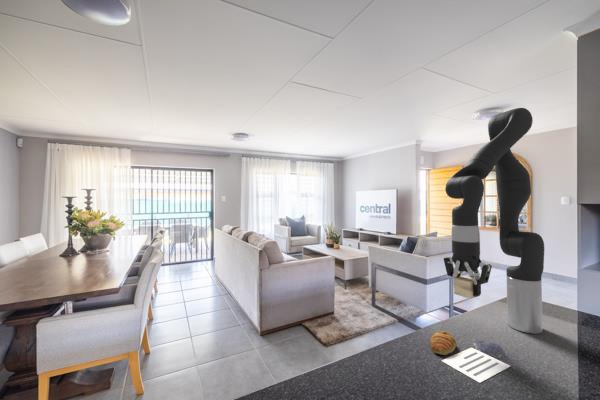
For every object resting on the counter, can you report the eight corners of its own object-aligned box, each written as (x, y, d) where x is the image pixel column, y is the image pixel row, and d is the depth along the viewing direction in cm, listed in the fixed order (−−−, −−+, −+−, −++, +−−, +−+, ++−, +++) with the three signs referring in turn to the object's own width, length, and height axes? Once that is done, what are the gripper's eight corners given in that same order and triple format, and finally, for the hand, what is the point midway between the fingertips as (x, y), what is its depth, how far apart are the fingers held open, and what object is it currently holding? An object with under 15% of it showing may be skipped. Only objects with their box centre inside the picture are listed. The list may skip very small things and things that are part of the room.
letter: (471, 347, 78) (471, 347, 78) (510, 366, 69) (510, 365, 69) (441, 360, 72) (441, 360, 72) (479, 383, 63) (479, 382, 63)
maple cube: (463, 291, 86) (463, 275, 86) (480, 295, 81) (479, 279, 81) (454, 293, 84) (453, 278, 84) (470, 298, 79) (469, 282, 79)
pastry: (452, 360, 72) (452, 346, 72) (426, 352, 77) (425, 339, 77) (457, 345, 80) (457, 333, 80) (433, 339, 84) (432, 327, 84)
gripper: (497, 241, 78) (499, 298, 78) (451, 236, 91) (452, 285, 91) (482, 243, 75) (484, 303, 74) (436, 237, 87) (438, 288, 87)
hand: (466, 293), depth 82 cm, fingers closed on maple cube, 5 cm apart
